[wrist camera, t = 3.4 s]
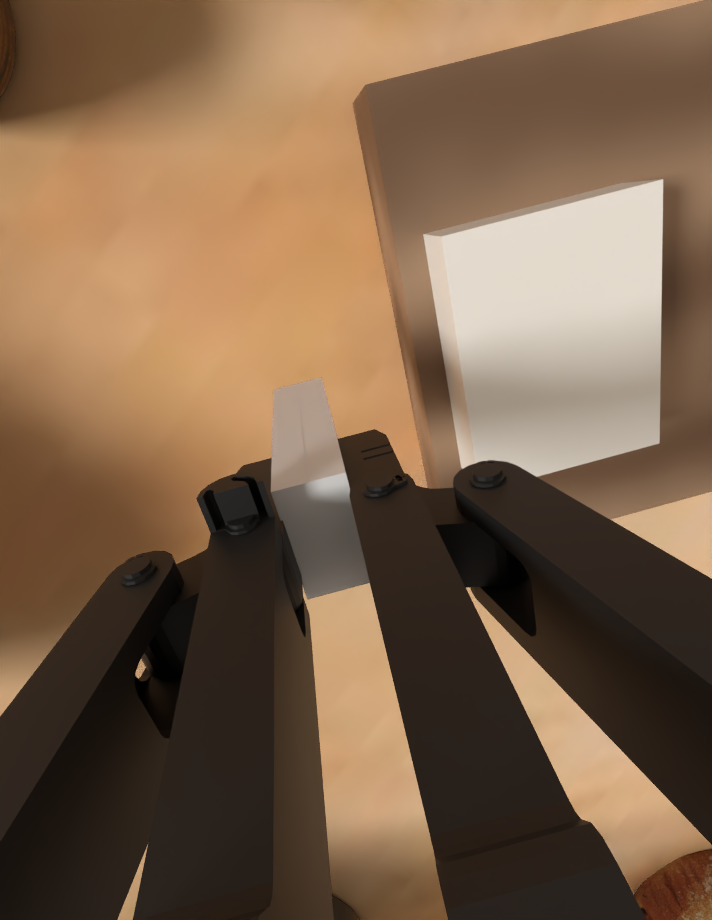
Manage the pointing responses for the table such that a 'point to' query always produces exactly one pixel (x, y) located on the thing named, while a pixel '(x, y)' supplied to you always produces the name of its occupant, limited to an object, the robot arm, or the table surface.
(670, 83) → the board
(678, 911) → the bread roll
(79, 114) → the table surface
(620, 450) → the slab
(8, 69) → the utensil holder
